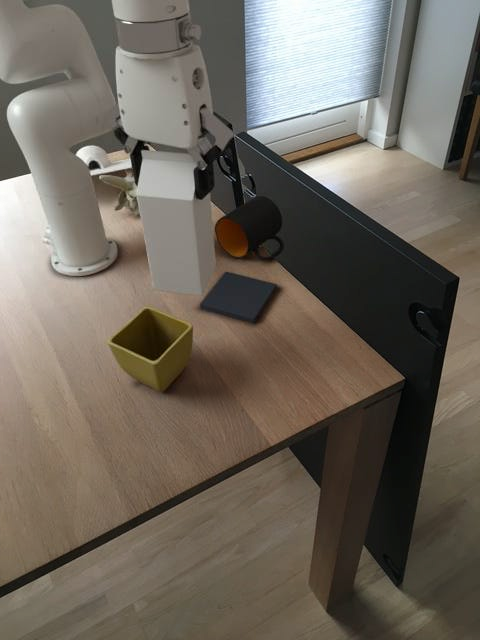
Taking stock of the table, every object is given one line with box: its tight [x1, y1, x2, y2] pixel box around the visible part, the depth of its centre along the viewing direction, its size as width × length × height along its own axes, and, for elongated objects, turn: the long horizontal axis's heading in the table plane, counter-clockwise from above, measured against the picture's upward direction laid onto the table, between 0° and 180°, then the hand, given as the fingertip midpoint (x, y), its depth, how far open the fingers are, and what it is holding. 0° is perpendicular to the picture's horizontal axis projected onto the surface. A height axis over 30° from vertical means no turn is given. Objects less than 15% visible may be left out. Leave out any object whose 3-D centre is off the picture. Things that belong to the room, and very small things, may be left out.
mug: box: [214, 195, 285, 262], centre depth 102 cm, size 8×12×10 cm
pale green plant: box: [98, 168, 140, 217], centre depth 117 cm, size 9×16×15 cm
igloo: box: [75, 145, 132, 177], centre depth 124 cm, size 20×20×5 cm
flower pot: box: [106, 305, 194, 393], centre depth 78 cm, size 9×9×9 cm
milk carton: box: [136, 149, 217, 297], centre depth 70 cm, size 7×7×19 cm
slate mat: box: [199, 271, 278, 324], centre depth 93 cm, size 10×10×1 cm
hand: (174, 186), depth 67 cm, fingers closed on milk carton, 8 cm apart
